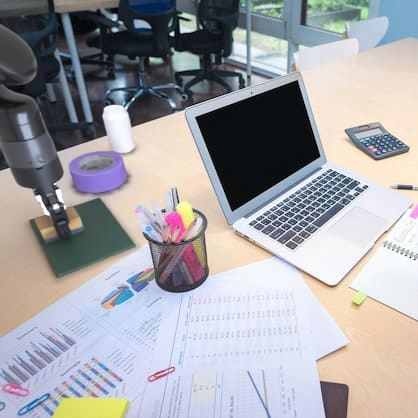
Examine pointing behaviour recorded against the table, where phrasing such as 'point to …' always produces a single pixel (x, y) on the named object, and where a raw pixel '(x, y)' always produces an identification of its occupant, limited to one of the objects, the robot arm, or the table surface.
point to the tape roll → (98, 171)
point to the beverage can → (118, 129)
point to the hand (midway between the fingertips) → (61, 229)
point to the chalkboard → (87, 239)
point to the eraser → (50, 231)
